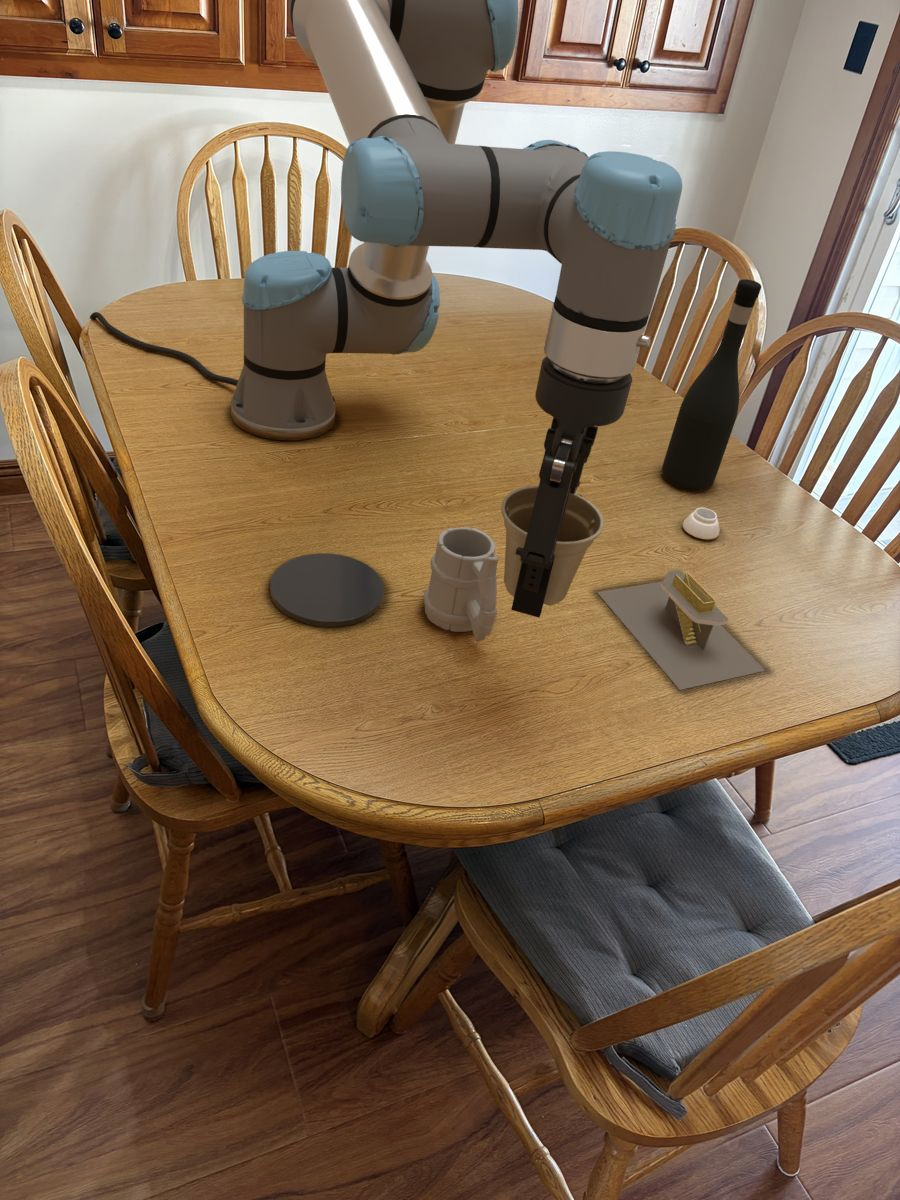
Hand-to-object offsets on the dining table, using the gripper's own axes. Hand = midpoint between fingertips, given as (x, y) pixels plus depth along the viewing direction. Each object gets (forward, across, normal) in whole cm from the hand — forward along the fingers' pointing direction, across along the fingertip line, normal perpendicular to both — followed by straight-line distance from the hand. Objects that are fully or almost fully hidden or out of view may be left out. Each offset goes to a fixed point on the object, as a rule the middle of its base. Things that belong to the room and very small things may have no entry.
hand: (536, 585), depth 90 cm
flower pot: (0, 0, 0) cm, 0 cm away
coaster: (+14, +8, +24) cm, 29 cm away
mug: (+14, +9, +8) cm, 19 cm away
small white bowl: (+15, +43, -17) cm, 48 cm away
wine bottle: (+15, +57, -14) cm, 60 cm away
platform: (+14, +19, -16) cm, 29 cm away
